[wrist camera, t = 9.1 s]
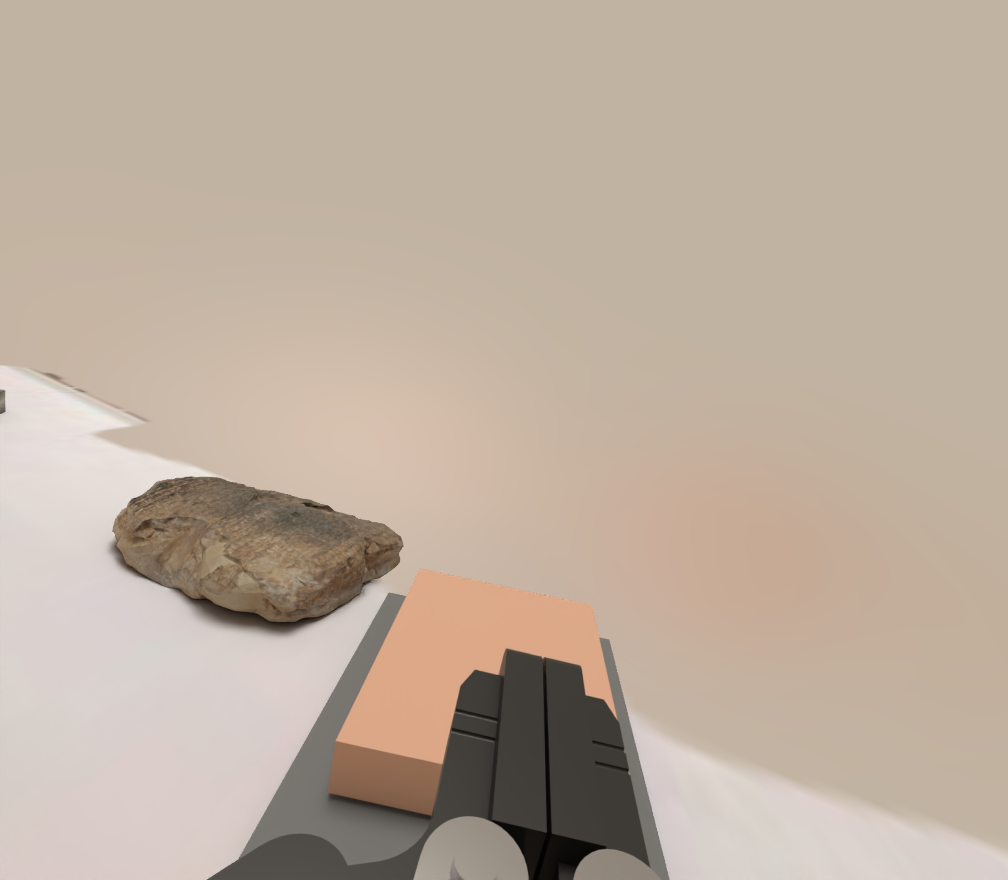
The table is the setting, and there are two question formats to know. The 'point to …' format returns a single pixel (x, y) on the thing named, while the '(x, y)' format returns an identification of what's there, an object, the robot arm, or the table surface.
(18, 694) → the table surface
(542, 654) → the terracotta tile
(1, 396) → the grey square tray
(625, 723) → the rubber mat
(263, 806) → the table surface
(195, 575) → the clay tablet
